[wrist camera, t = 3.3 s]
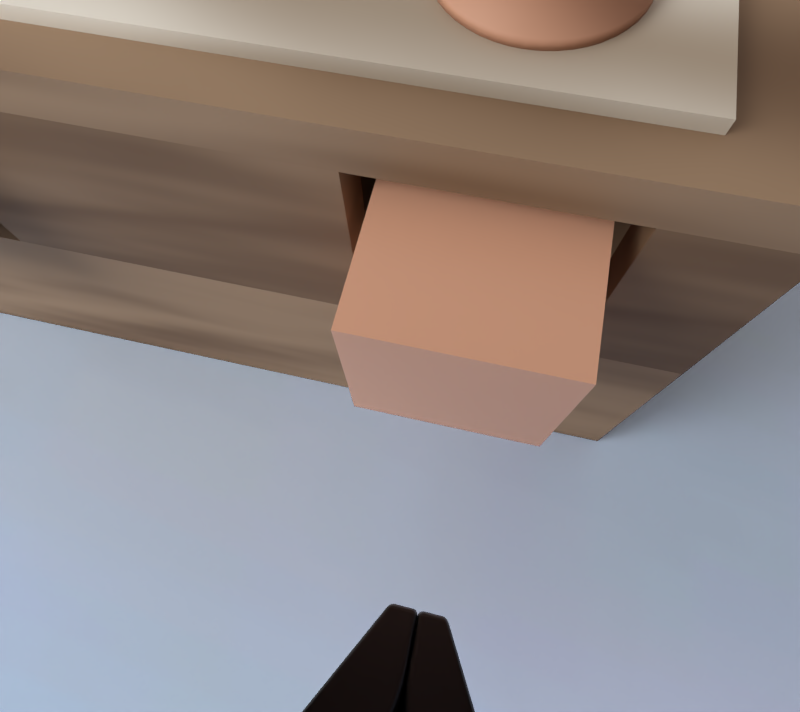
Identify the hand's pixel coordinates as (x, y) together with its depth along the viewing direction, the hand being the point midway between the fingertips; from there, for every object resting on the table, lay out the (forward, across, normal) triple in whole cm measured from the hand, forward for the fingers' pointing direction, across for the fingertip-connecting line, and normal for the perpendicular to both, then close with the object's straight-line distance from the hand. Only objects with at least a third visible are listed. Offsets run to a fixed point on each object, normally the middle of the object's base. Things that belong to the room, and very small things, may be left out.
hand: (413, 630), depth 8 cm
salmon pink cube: (+6, 0, -2) cm, 6 cm away
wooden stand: (+14, +7, 0) cm, 16 cm away
